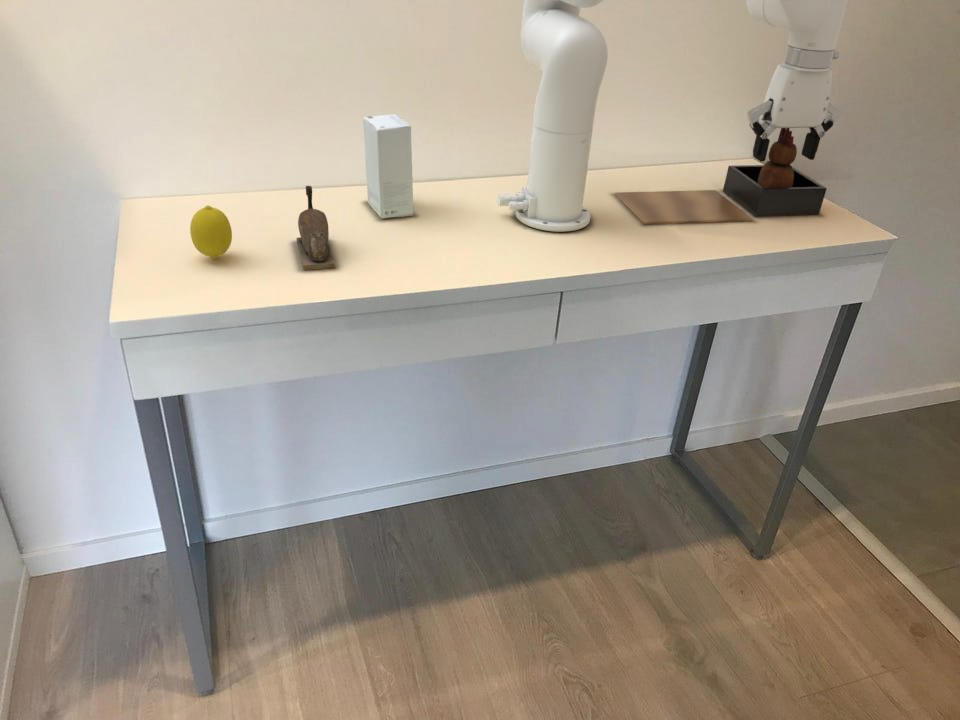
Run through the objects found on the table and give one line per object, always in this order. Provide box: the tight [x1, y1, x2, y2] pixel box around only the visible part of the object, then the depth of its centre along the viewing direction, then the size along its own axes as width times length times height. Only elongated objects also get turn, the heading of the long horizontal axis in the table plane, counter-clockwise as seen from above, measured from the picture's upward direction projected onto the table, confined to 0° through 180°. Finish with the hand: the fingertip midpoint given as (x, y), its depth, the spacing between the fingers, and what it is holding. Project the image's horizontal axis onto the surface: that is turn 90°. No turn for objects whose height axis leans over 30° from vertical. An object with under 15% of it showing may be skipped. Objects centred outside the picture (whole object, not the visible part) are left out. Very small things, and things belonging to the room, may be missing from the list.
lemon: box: [189, 205, 233, 260], centre depth 112 cm, size 6×6×8 cm
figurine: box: [296, 185, 336, 271], centre depth 116 cm, size 14×4×9 cm, turn 17°
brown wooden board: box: [615, 189, 753, 225], centre depth 142 cm, size 20×14×1 cm
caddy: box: [722, 164, 827, 218], centre depth 145 cm, size 13×13×5 cm
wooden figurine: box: [758, 128, 798, 188], centre depth 143 cm, size 7×6×15 cm
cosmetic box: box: [362, 113, 414, 219], centre depth 130 cm, size 8×6×15 cm
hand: (783, 158), depth 142 cm, fingers open, 9 cm apart
